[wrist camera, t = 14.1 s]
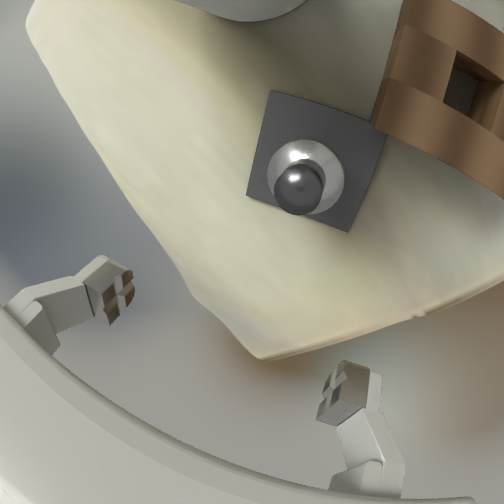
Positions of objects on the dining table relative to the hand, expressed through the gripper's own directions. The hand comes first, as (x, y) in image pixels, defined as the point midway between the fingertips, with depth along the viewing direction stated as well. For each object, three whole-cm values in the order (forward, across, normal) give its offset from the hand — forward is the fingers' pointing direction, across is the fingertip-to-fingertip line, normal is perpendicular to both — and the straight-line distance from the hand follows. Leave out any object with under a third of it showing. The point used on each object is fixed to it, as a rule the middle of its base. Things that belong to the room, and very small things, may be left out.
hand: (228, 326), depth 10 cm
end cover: (+22, 0, 0) cm, 22 cm away
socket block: (+23, -10, -13) cm, 28 cm away
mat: (+23, 0, 0) cm, 23 cm away
